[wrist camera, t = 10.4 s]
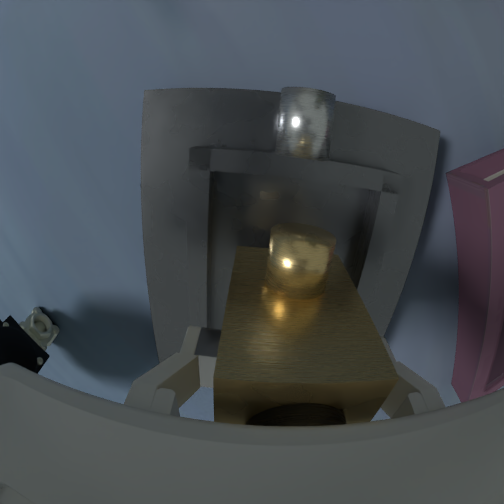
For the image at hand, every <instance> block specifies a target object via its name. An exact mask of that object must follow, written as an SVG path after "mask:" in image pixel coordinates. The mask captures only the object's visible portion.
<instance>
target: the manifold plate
mask: <svg viewBox="0 0 504 504" xmlns="http://www.w3.org/2000/svg"><path fill="white" fill-rule="evenodd" d="M335 99H336V96H335V95H334V94H332V93H329V92H326V91H322V90H317V89H312V88H303V87H285V88H282V90H281V93H280V92H271V91H260V90H247V89H228V88H175V89H156V90H144V101H143V116H142V137H141V205H142V227H143V242H144V255H145V266H146V276H147V285H148V294H149V302H150V309H151V316H152V323H153V329H154V335H155V341H156V347H157V353H158V358H159V363H161V362H163V361H164V360H166V359H167V358H169V357H170V356H172V355H173V354H175V353H180V350H181V347H182V344H183V341H184V338H185V335H186V332H187V329H188V327H189V326H197V327H205V328H213V329H220V330H222V325H223V319H224V313H225V308H226V302H227V297H228V291H229V286H230V281H231V275H232V270H233V265H234V259H235V254H236V249H237V246H247V247H258V248H269V242H270V233H271V228H272V227H273V226H275V225H278V224H282V223H301V224H308V225H312V226H316V227H319V228H322V229H324V230H326V231H328V232H330V233H331V234H333V235H334V236H335V238H336V245H335V250H334V254H335V255H338V256H339V258H340V260H341V261H342V263H343V265H344V267H345V269H346V271H347V272H348V274H349V276H350V278H351V280H352V282H353V284H354V286H355V287H356V289H357V291H358V293H359V295H360V297H361V299H362V301H363V303H364V305H365V307H366V309H367V311H368V313H369V315H370V317H371V319H372V321H373V323H374V325H375V327H376V329H377V331H378V333H379V335H380V336H384V334H385V332H386V330H387V327H388V325H389V323H390V320H391V318H392V315H393V313H394V310H395V308H396V305H397V303H398V300H399V298H400V295H401V292H402V289H403V287H404V284H405V281H406V278H407V275H408V272H409V269H410V266H411V263H412V260H413V257H414V254H415V250H416V247H417V244H418V240H419V237H420V233H421V229H422V226H423V222H424V218H425V214H426V210H427V205H428V201H429V196H430V192H431V187H432V182H433V176H434V171H435V165H436V159H437V152H438V145H439V137H440V131H439V130H437V129H434V128H431V127H429V126H426V125H423V124H420V123H417V122H414V121H411V120H408V119H405V118H401V117H398V116H395V115H391V114H388V113H384V112H380V111H377V110H373V109H369V108H365V107H361V106H356V105H352V104H347V103H343V102H338V101H335Z"/></svg>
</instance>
